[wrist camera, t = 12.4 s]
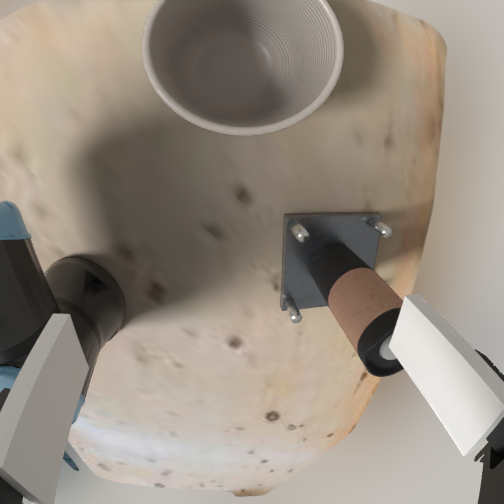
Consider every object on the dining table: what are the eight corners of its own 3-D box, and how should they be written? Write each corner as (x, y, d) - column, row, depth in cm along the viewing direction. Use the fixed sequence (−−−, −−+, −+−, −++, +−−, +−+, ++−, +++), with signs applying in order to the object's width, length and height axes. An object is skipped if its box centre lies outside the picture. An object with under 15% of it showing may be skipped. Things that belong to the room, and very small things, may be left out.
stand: (280, 305, 49) (288, 326, 44) (284, 214, 43) (294, 227, 38) (363, 296, 51) (377, 313, 46) (377, 212, 45) (395, 224, 40)
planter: (260, -4, 30) (288, -58, 16) (317, 99, 37) (374, 91, 23) (143, 48, 31) (109, 11, 17) (203, 154, 38) (201, 172, 24)
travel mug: (363, 260, 46) (437, 339, 28) (329, 295, 48) (386, 385, 29) (334, 230, 43) (411, 307, 25) (297, 268, 45) (351, 363, 27)
